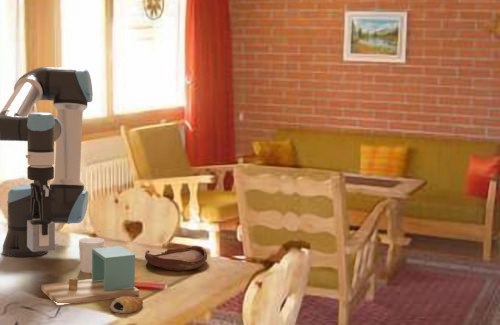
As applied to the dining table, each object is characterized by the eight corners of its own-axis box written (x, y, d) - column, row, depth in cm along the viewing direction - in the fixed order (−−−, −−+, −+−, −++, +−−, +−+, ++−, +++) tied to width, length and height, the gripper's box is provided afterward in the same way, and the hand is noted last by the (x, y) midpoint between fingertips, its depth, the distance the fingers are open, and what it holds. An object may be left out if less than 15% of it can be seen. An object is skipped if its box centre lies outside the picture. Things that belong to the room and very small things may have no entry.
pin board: (41, 289, 224) (41, 274, 223) (118, 280, 236) (119, 266, 235) (57, 305, 210) (57, 289, 209) (138, 295, 222) (139, 280, 222)
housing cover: (91, 280, 229) (92, 248, 227) (120, 277, 233) (120, 245, 232) (105, 290, 219) (105, 257, 218) (134, 287, 224) (135, 254, 222)
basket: (172, 253, 273) (172, 239, 272) (220, 262, 263) (220, 248, 262) (132, 266, 253) (133, 251, 252) (182, 277, 243) (183, 261, 243)
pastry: (130, 302, 216) (130, 289, 215) (149, 307, 212) (149, 294, 212) (107, 311, 208) (108, 297, 207) (127, 316, 204) (127, 302, 204)
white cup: (98, 274, 241) (98, 243, 240) (74, 272, 243) (74, 241, 241) (107, 268, 249) (108, 238, 247) (84, 266, 250) (85, 236, 249)
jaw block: (27, 246, 228) (27, 220, 227) (48, 244, 231) (48, 218, 230) (32, 251, 222) (32, 224, 221) (54, 249, 226) (54, 223, 225)
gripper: (19, 161, 230) (19, 236, 233) (36, 170, 213) (36, 251, 216) (44, 160, 234) (44, 234, 237) (63, 169, 217) (62, 249, 220)
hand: (40, 242), depth 226 cm, fingers closed on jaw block, 6 cm apart
